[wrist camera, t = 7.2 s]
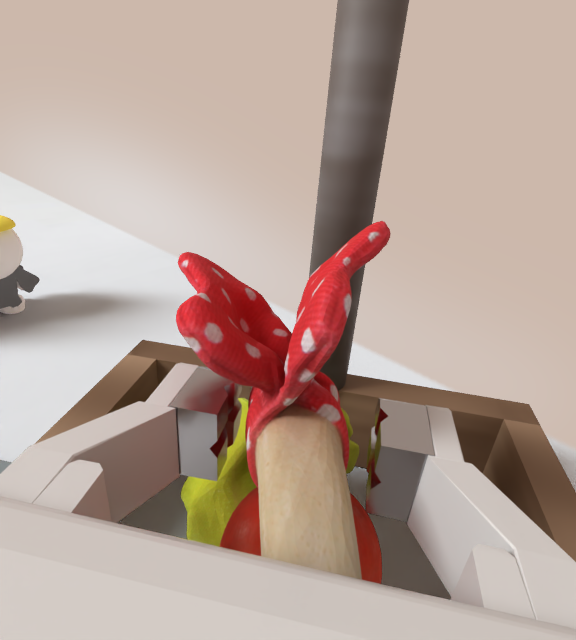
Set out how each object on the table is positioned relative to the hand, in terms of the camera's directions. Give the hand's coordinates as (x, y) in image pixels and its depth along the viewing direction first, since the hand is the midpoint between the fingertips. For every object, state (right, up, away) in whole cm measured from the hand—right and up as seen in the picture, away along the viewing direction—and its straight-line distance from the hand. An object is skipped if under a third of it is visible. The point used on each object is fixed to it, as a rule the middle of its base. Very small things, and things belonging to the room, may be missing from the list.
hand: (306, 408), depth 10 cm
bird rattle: (-1, -6, +3) cm, 7 cm away
